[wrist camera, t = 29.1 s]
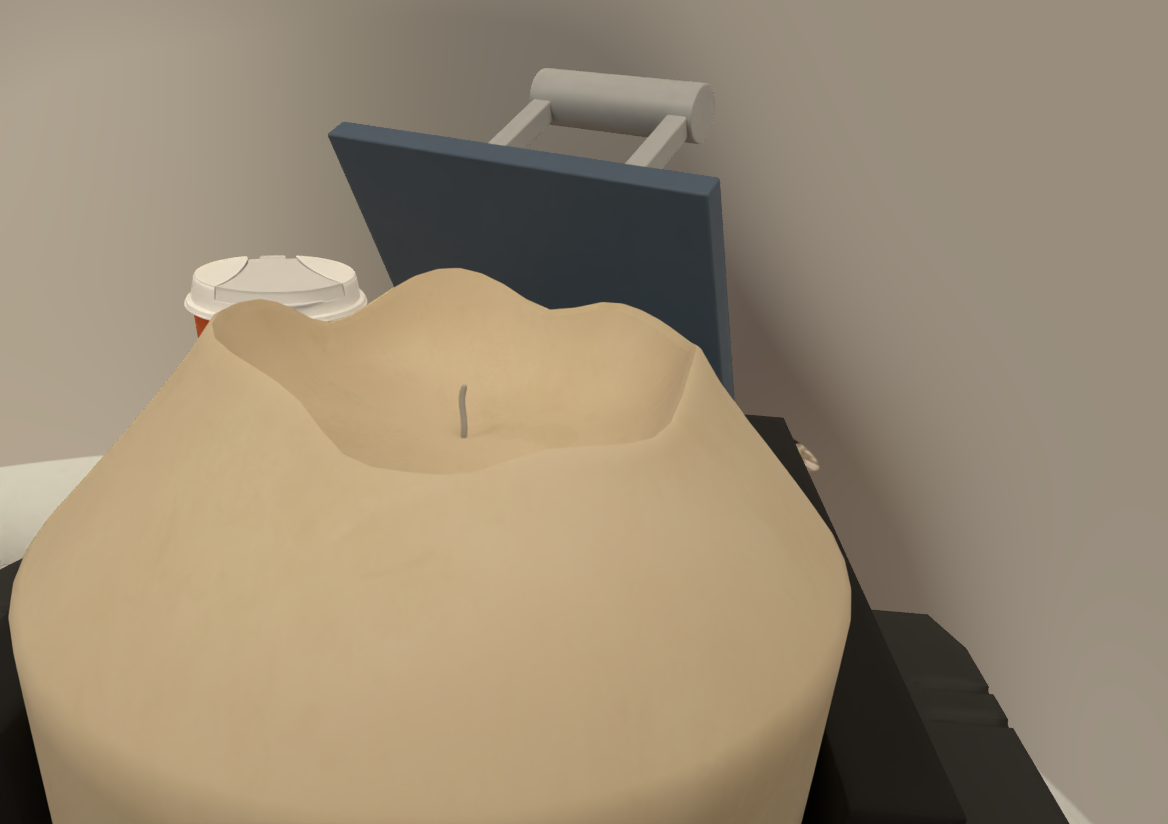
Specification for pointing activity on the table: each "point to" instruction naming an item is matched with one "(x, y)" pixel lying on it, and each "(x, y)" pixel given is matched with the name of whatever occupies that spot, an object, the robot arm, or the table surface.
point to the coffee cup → (276, 287)
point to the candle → (433, 581)
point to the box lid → (560, 205)
